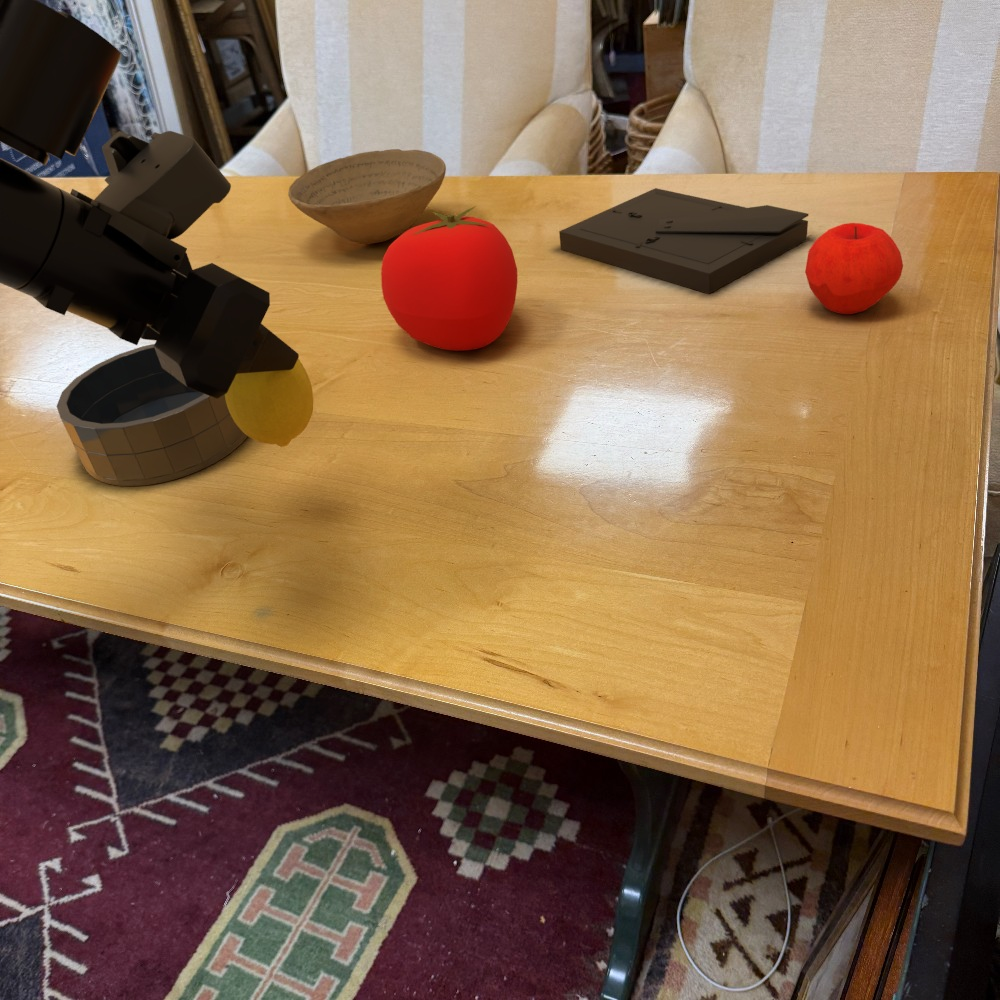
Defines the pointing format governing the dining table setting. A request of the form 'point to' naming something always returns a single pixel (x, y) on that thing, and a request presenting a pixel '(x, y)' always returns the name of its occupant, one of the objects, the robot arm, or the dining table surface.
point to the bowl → (370, 192)
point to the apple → (853, 267)
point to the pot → (144, 422)
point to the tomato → (451, 282)
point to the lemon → (271, 404)
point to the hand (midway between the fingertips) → (277, 351)
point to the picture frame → (686, 238)
